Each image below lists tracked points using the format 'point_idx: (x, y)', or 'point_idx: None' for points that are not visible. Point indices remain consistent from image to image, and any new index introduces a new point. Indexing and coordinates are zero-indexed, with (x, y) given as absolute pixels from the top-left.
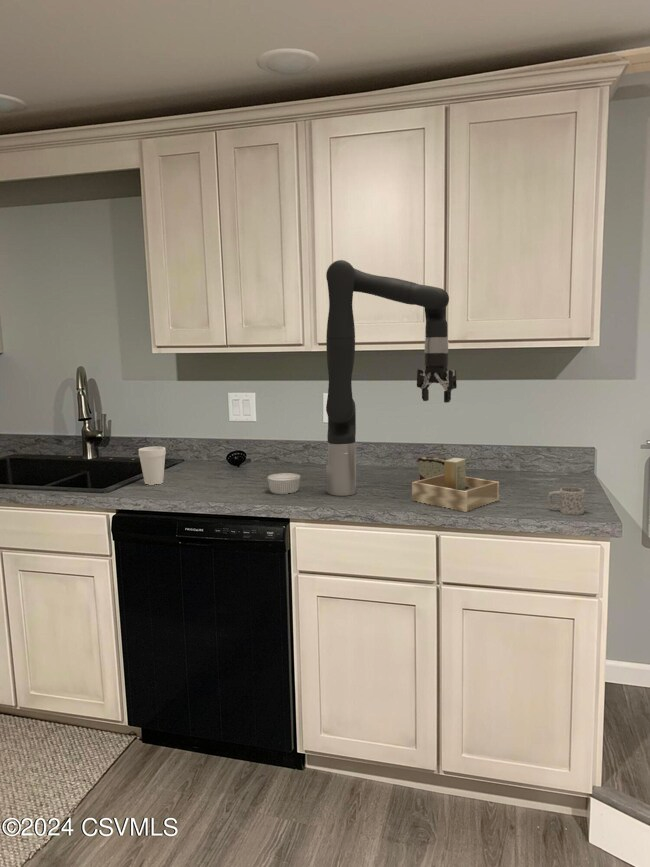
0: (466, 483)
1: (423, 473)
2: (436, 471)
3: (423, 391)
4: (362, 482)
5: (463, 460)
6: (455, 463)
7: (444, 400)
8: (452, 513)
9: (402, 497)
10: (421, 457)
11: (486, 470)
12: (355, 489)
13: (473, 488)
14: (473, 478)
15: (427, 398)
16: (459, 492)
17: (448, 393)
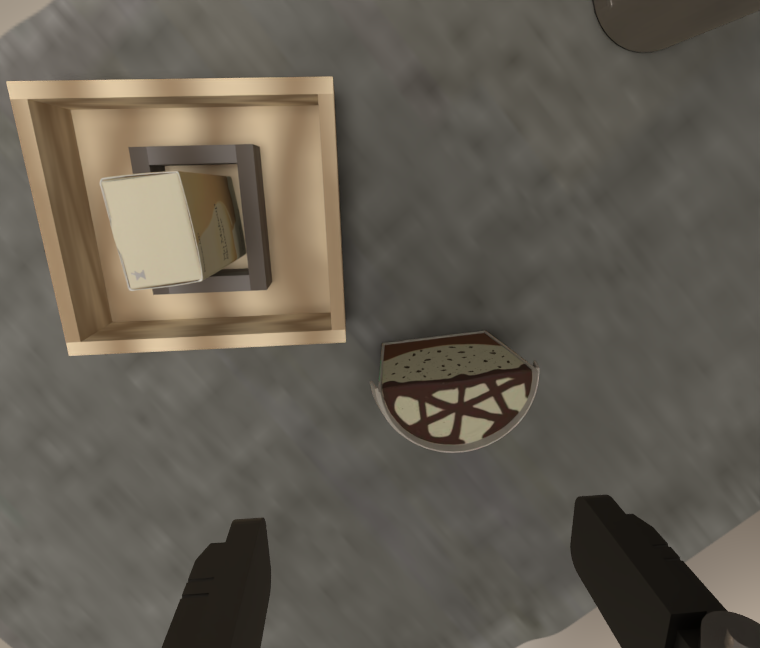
0: (232, 327)
1: (482, 349)
2: (420, 363)
3: (673, 589)
4: (694, 207)
5: (123, 265)
6: (104, 178)
7: (251, 530)
8: (78, 40)
9: (403, 114)
10: (528, 391)
11: (441, 641)
12: (606, 10)
13: (41, 173)
14: (191, 339)
15: (583, 561)
16: (45, 81)
17: (165, 639)
